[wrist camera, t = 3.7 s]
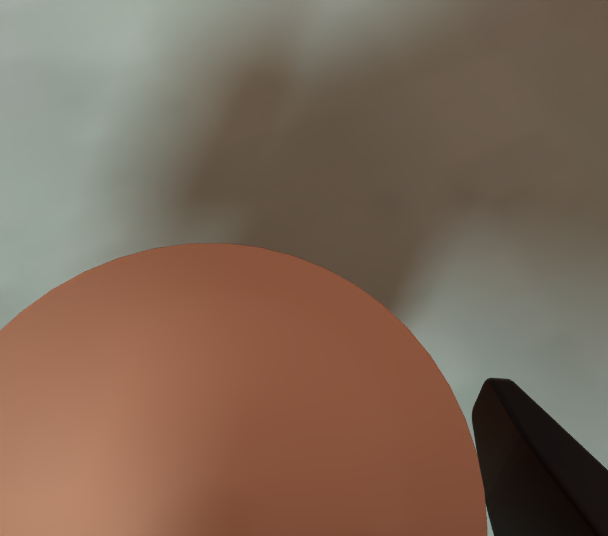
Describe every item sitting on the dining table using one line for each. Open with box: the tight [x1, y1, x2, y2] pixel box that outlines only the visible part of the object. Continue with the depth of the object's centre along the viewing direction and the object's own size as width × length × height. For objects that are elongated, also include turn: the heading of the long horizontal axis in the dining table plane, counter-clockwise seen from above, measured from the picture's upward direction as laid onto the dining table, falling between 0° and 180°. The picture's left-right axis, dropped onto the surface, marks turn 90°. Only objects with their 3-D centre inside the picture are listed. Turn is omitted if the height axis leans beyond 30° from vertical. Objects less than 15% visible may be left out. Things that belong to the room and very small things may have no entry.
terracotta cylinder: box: [0, 243, 487, 536], centre depth 11 cm, size 6×6×11 cm
